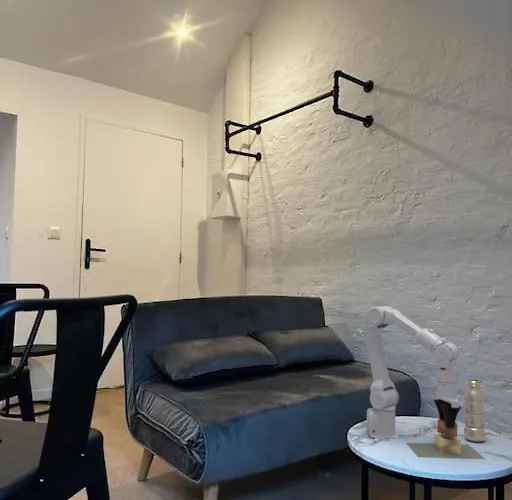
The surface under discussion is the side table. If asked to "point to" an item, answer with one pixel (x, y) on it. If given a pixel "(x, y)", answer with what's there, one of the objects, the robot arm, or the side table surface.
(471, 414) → the plastic bottle
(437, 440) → the birch base block
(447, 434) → the walnut block
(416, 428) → the side table surface
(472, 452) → the grey flat rectangular panel
